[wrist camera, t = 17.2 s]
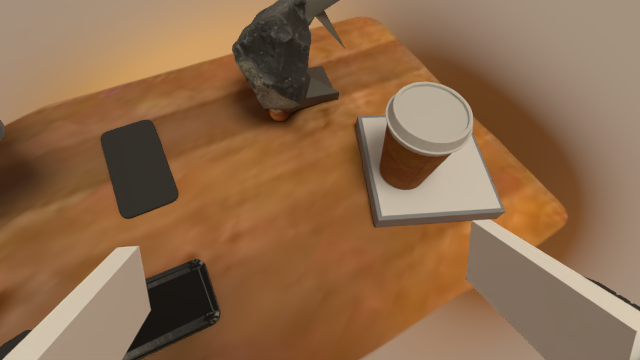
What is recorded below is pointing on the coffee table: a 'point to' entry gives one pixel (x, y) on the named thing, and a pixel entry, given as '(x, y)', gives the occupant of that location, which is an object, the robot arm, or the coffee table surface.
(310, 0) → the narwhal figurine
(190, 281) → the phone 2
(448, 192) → the plate
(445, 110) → the disposable coffee cup
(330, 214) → the coffee table surface
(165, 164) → the phone
